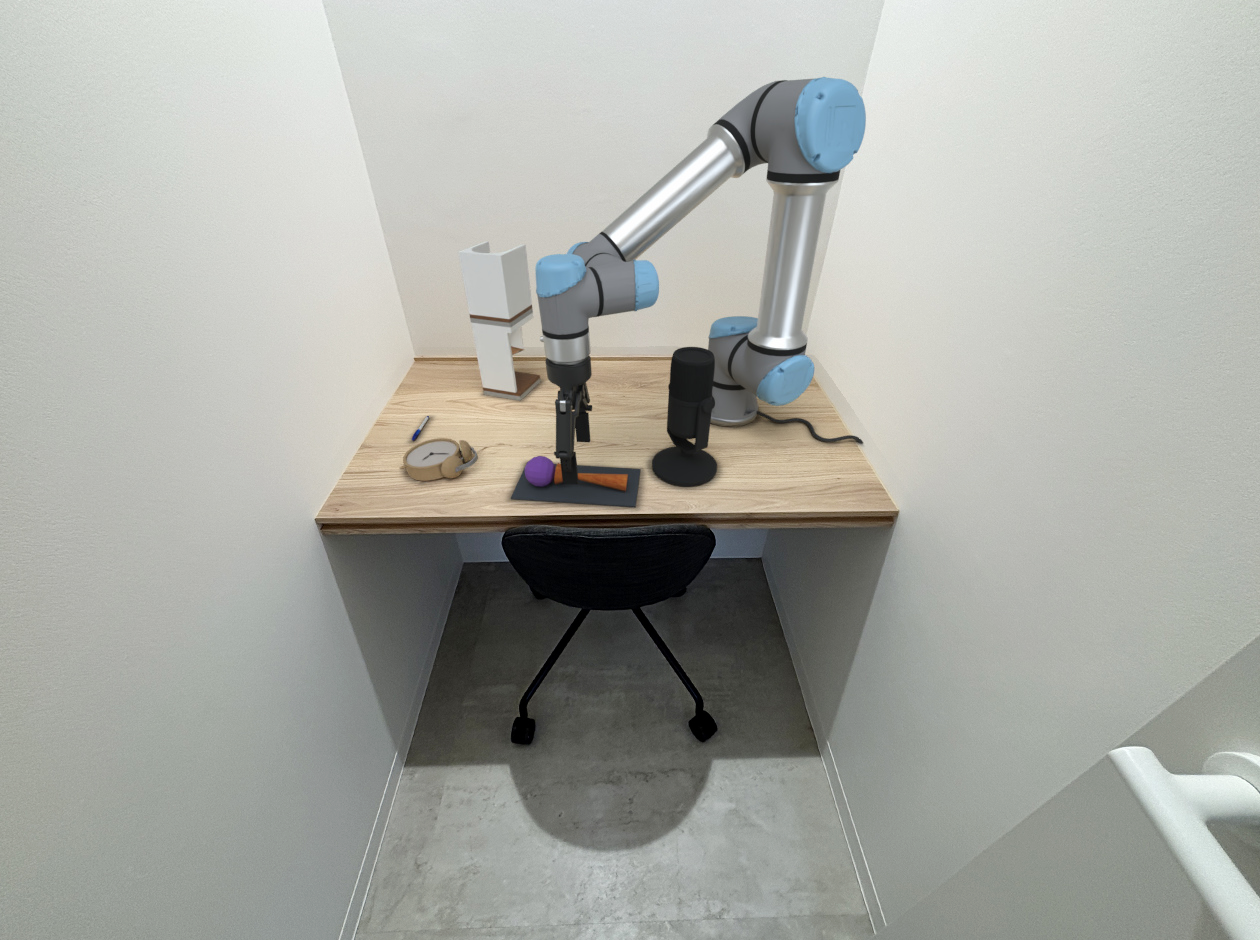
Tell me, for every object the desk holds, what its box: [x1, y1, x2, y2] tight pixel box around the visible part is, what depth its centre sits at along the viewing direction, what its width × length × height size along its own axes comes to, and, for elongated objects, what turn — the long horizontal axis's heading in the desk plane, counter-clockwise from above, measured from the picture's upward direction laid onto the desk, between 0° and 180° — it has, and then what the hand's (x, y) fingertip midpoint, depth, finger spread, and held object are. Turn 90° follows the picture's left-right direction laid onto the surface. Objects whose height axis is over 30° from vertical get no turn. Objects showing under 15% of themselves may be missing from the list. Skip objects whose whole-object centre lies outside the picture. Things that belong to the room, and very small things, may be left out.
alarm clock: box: [399, 437, 478, 482], centre depth 104 cm, size 11×5×15 cm
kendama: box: [524, 455, 628, 491], centre depth 98 cm, size 6×6×20 cm
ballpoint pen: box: [411, 415, 430, 441], centre depth 117 cm, size 10×1×1 cm, turn 1°
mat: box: [510, 461, 642, 508], centre depth 100 cm, size 24×12×1 cm, turn 84°
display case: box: [457, 241, 541, 401], centre depth 124 cm, size 11×11×35 cm
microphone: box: [651, 346, 718, 488], centre depth 98 cm, size 14×14×25 cm
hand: (577, 460), depth 96 cm, fingers open, 13 cm apart
